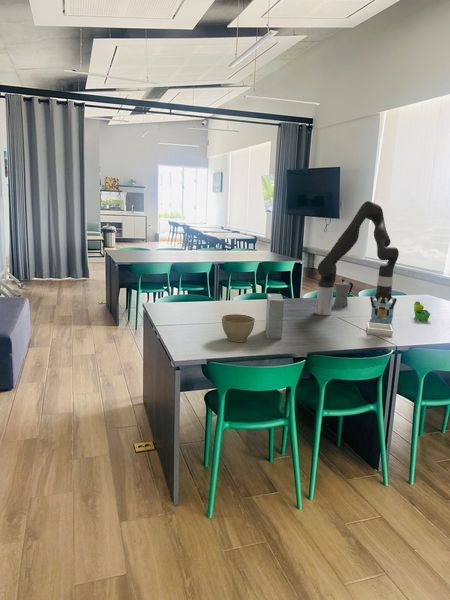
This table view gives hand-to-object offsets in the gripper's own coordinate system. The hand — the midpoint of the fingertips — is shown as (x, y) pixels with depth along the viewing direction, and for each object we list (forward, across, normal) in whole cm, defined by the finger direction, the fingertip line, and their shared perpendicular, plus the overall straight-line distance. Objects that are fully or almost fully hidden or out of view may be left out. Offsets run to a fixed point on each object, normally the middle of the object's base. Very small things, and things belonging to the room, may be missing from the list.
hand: (381, 315), depth 246 cm
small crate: (+1, 0, 0) cm, 1 cm away
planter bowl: (+9, +68, +43) cm, 81 cm away
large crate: (+9, 0, 0) cm, 9 cm away
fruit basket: (+9, -25, -39) cm, 47 cm away
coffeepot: (+9, +22, -60) cm, 64 cm away
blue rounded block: (+9, -2, -25) cm, 27 cm away
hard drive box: (+9, +53, +27) cm, 61 cm away
